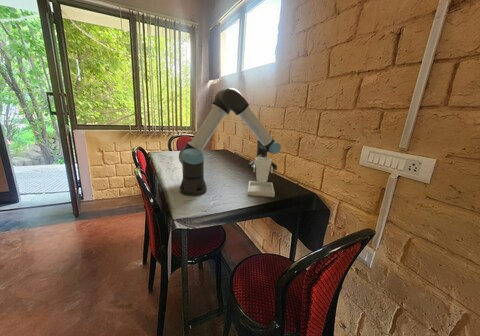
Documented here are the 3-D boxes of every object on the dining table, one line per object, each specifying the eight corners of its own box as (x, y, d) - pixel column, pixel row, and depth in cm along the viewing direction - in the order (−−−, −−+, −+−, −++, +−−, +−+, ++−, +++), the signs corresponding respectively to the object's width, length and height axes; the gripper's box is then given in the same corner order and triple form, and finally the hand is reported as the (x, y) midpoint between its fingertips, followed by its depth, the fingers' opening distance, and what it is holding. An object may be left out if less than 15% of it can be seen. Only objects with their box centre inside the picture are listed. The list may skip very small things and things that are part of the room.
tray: (247, 195, 114) (247, 191, 113) (248, 184, 131) (249, 181, 131) (274, 197, 113) (274, 193, 112) (272, 186, 130) (272, 182, 130)
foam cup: (269, 183, 114) (271, 161, 111) (253, 182, 116) (254, 160, 112) (270, 178, 123) (272, 157, 120) (255, 177, 125) (256, 156, 121)
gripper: (278, 167, 135) (282, 177, 113) (245, 165, 136) (243, 175, 115) (279, 156, 133) (283, 165, 111) (245, 154, 134) (243, 162, 113)
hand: (263, 170), depth 113 cm, fingers closed on foam cup, 9 cm apart
